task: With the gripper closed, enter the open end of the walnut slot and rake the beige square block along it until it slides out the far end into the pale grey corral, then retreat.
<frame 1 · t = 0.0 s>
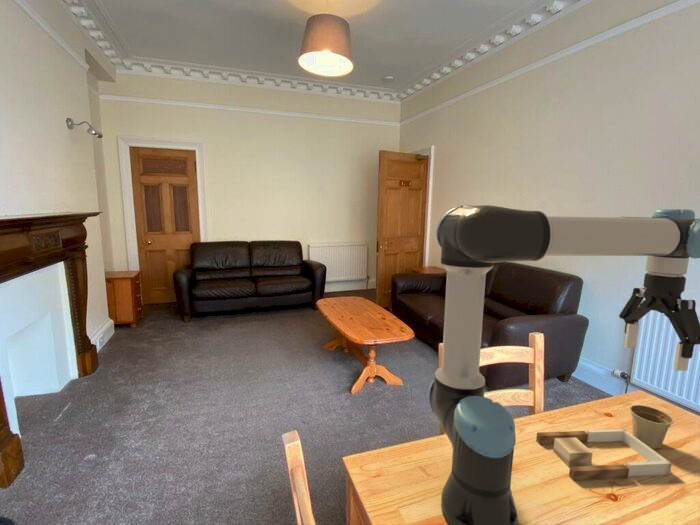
hand: (653, 358, 89), 28 cm above the table, fingers open, 13 cm apart
corral: (625, 456, 95), on the table
slot rails: (578, 458, 94), on the table
beige square block: (571, 459, 94), on the table
flower pot: (646, 443, 101), on the table
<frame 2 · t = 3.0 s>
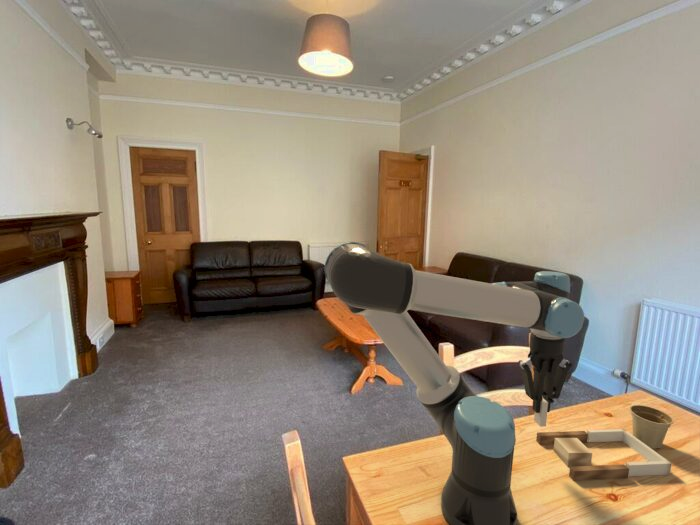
hand: (539, 423, 91), 10 cm above the table, fingers closed
nothing on the table moved.
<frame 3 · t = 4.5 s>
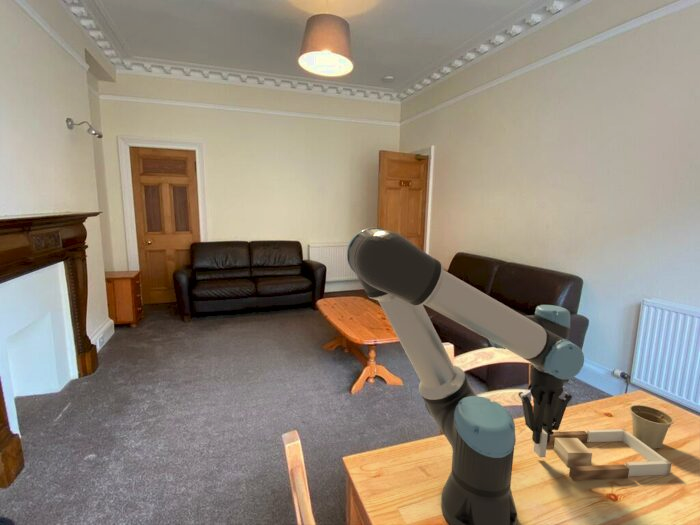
hand: (539, 453, 93), 2 cm above the table, fingers closed
nothing on the table moved.
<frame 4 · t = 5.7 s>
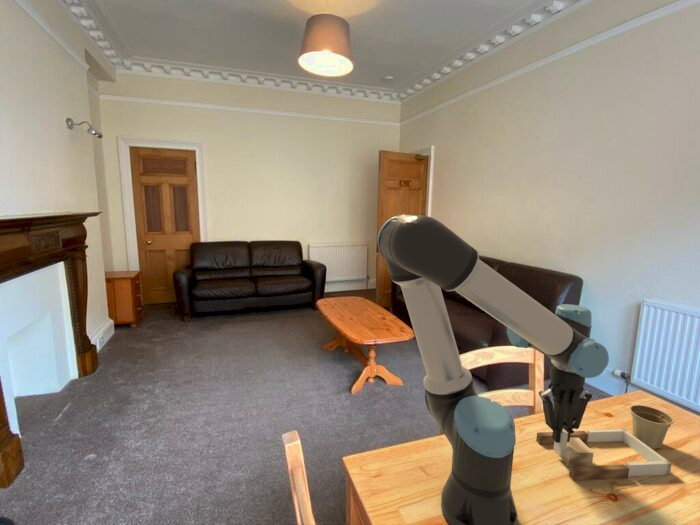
hand: (559, 452, 93), 2 cm above the table, fingers closed
beige square block: (572, 458, 94), on the table, touching gripper
everything else where it was.
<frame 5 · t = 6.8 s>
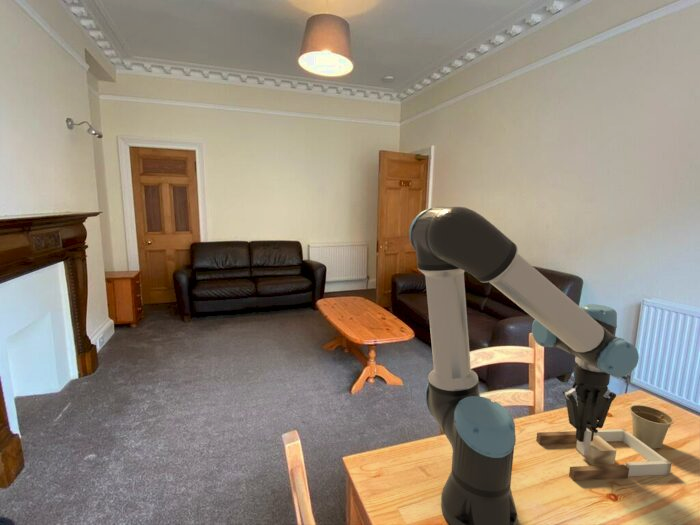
hand: (582, 451, 94), 2 cm above the table, fingers closed
beige square block: (594, 457, 94), on the table, touching gripper
everything else where it was.
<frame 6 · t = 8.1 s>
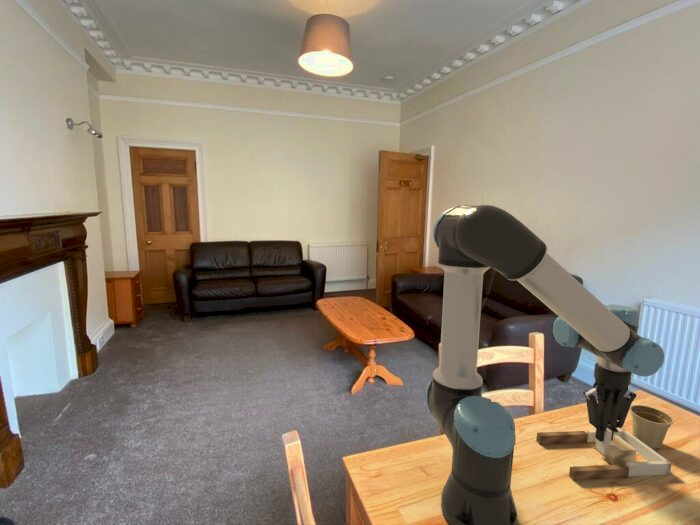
hand: (602, 451, 94), 2 cm above the table, fingers closed
beige square block: (614, 456, 95), on the table
everything else where it was.
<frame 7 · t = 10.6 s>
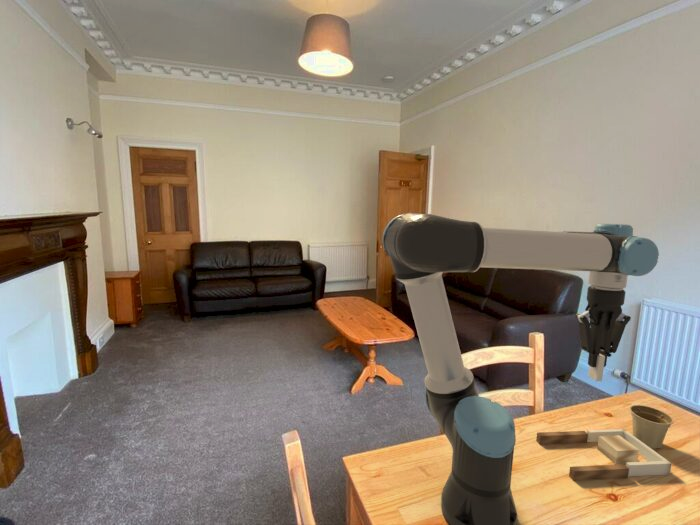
hand: (595, 378, 91), 22 cm above the table, fingers closed
nothing on the table moved.
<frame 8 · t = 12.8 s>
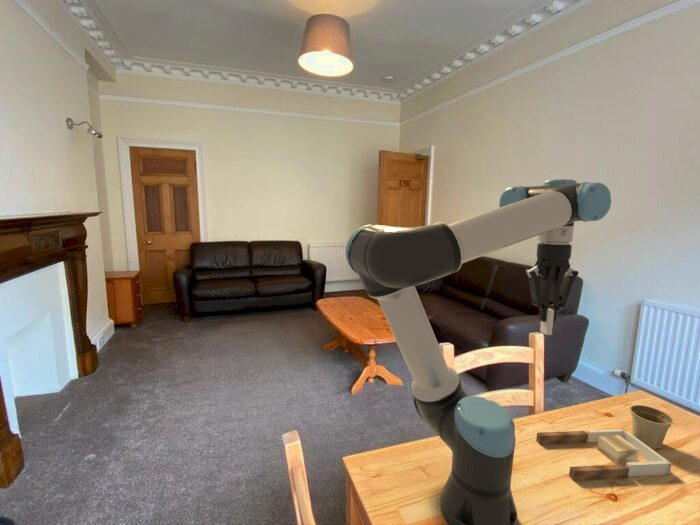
hand: (545, 333, 93), 32 cm above the table, fingers closed
nothing on the table moved.
at the end: beige square block inside the target area (2.2 cm from its centre), on the table; beige square block tilted 0° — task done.
